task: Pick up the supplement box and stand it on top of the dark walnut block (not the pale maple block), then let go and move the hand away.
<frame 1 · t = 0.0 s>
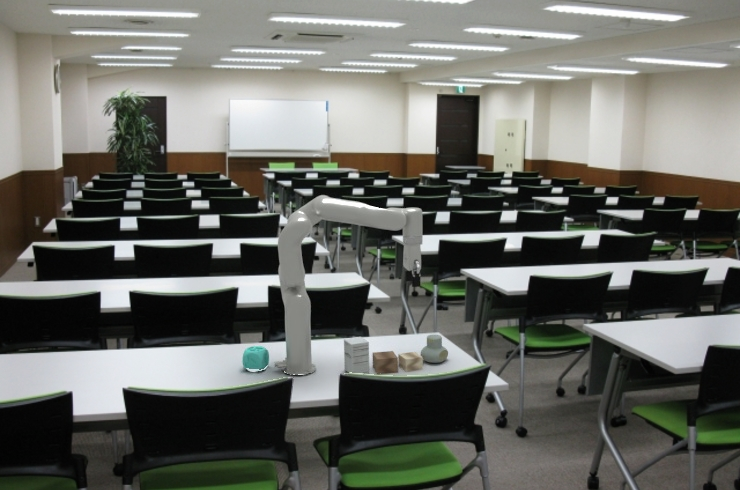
hand: (412, 283, 281), 31 cm above the table, tool pointing down, fingers open, 9 cm apart
supplement box: (356, 372, 275), on the table
air freshener: (434, 361, 287), on the table
walnut block: (385, 370, 278), on the table
teal rounded cube: (256, 369, 281), on the table
maple block: (410, 367, 280), on the table
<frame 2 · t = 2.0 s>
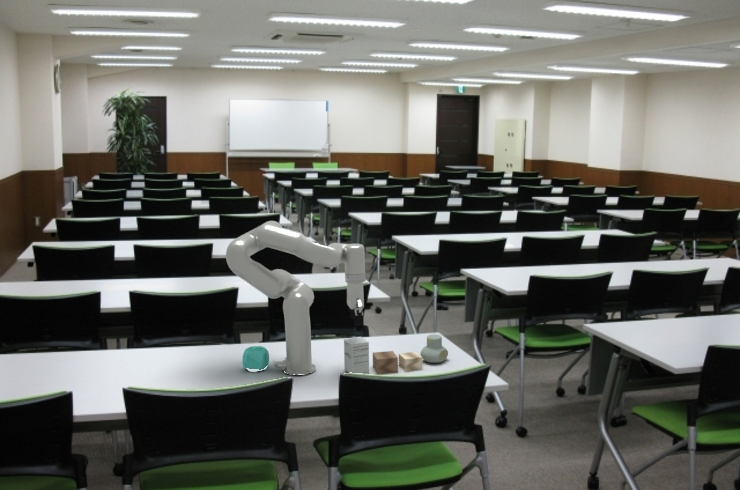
hand: (356, 322, 272), 20 cm above the table, tool pointing down, fingers open, 9 cm apart
nothing on the table moved.
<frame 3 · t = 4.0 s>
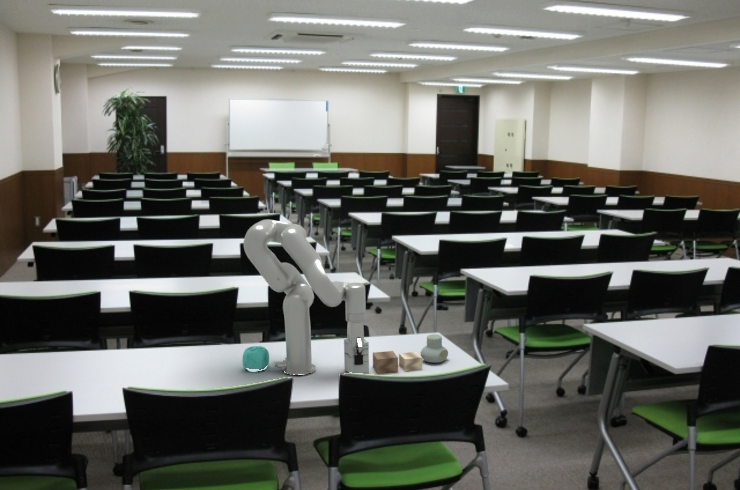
hand: (356, 360, 275), 5 cm above the table, tool pointing down, fingers closed on supplement box, 8 cm apart
supplement box: (356, 372, 275), on the table, touching gripper
everything else where it was.
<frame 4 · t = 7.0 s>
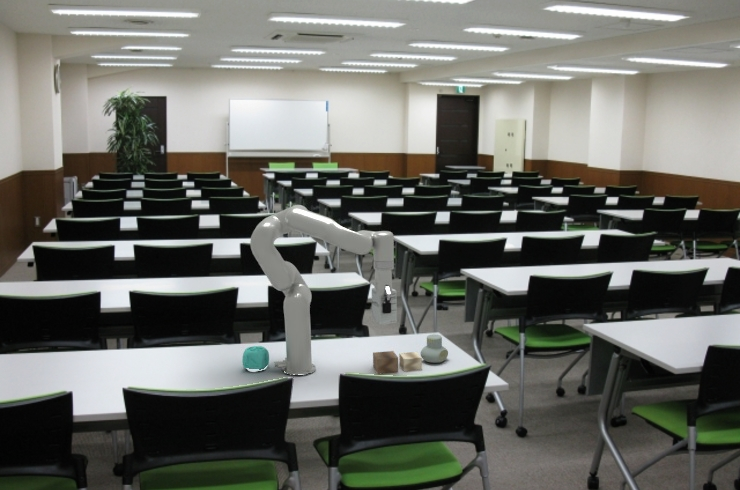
hand: (384, 309, 273), 24 cm above the table, tool pointing down, fingers closed on supplement box, 8 cm apart
supplement box: (384, 322, 274), point 19 cm above the table, touching gripper
everything else where it was.
when the fingers open (12 cm above the table, at t = 10.1 s): supplement box drops 1 cm, resting on walnut block.
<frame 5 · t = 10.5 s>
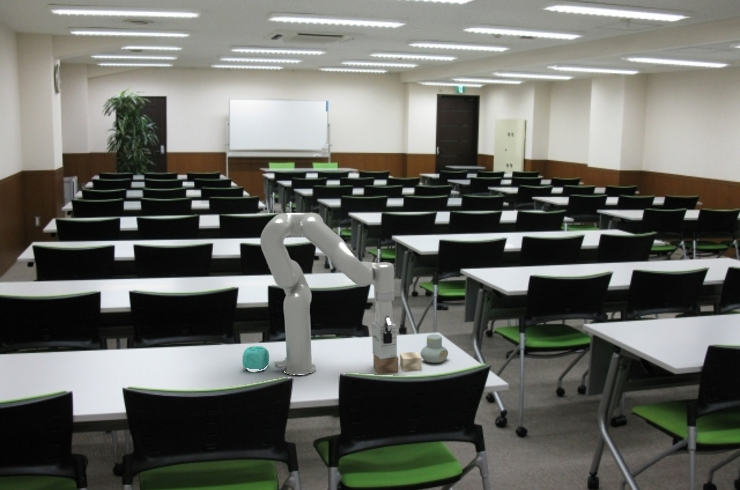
hand: (384, 339, 275), 12 cm above the table, tool pointing down, fingers open, 9 cm apart
supplement box: (384, 355, 276), point 6 cm above the table, touching walnut block
walnut block: (385, 370, 278), on the table, touching supplement box
everything else where it was.
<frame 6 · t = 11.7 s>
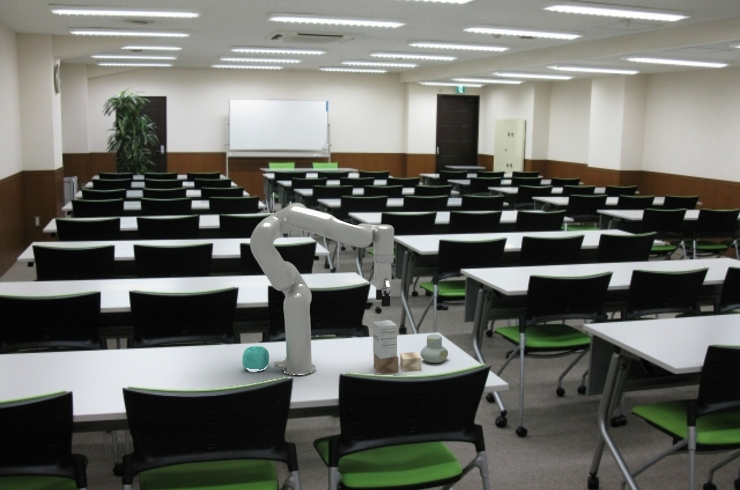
hand: (382, 302, 273), 26 cm above the table, tool pointing down, fingers open, 9 cm apart
nothing on the table moved.
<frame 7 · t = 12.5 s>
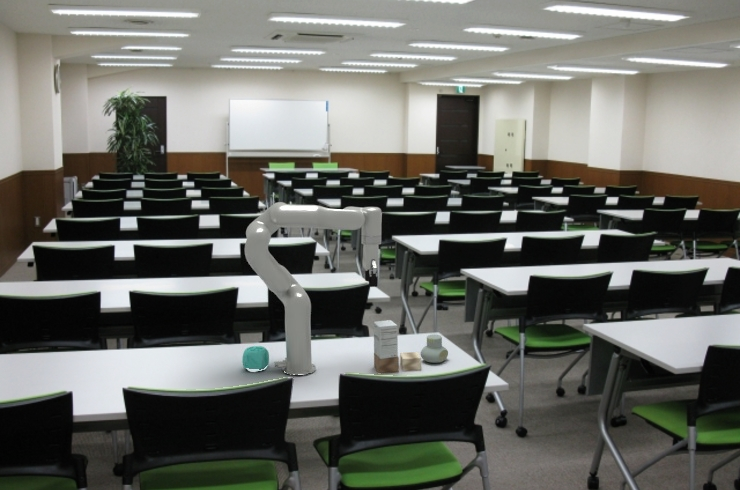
hand: (371, 283, 279), 32 cm above the table, tool pointing down, fingers open, 9 cm apart
nothing on the table moved.
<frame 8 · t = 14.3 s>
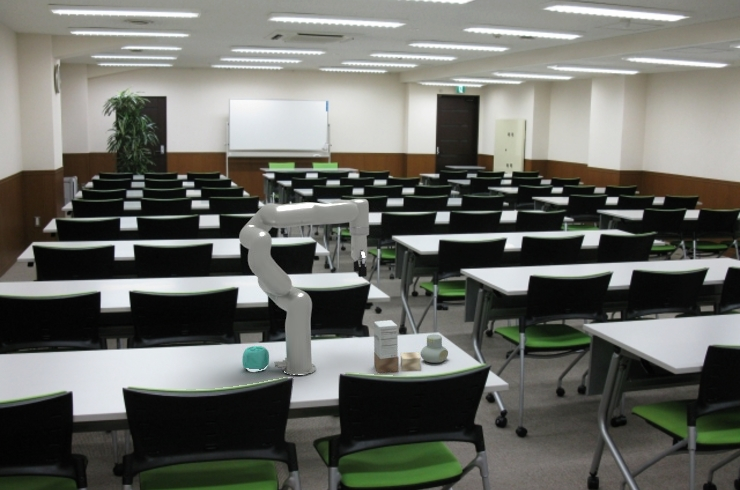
hand: (360, 273, 286), 34 cm above the table, tool pointing down, fingers open, 9 cm apart
nothing on the table moved.
at the end: supplement box inside the target area on the walnut block (0.6 cm from its centre), point 5.8 cm above the walnut block's base; supplement box tilted 0°; the gripper is holding nothing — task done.
